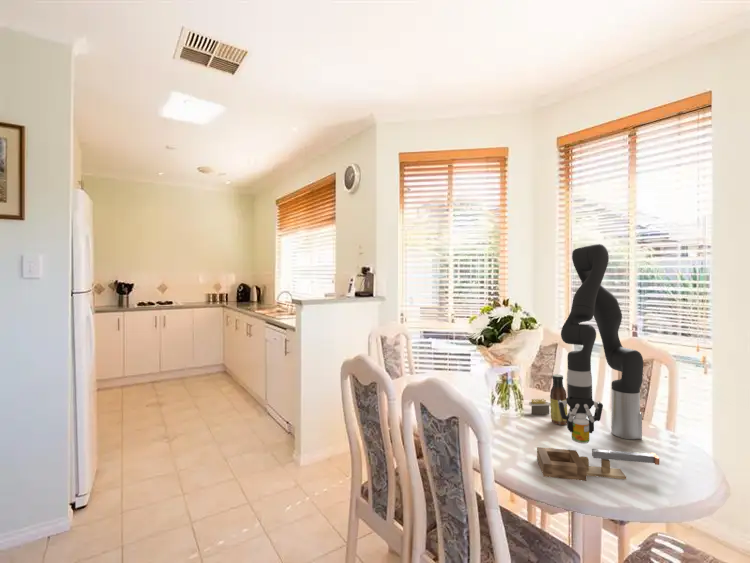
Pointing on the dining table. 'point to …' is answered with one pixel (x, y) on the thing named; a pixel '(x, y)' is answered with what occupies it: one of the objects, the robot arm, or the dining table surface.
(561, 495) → the dining table surface
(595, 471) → the mount
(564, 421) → the sauce bottle
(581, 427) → the supplement bottle
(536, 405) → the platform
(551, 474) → the socket
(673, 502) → the dining table surface
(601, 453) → the grey bar
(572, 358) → the robot arm
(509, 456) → the dining table surface
